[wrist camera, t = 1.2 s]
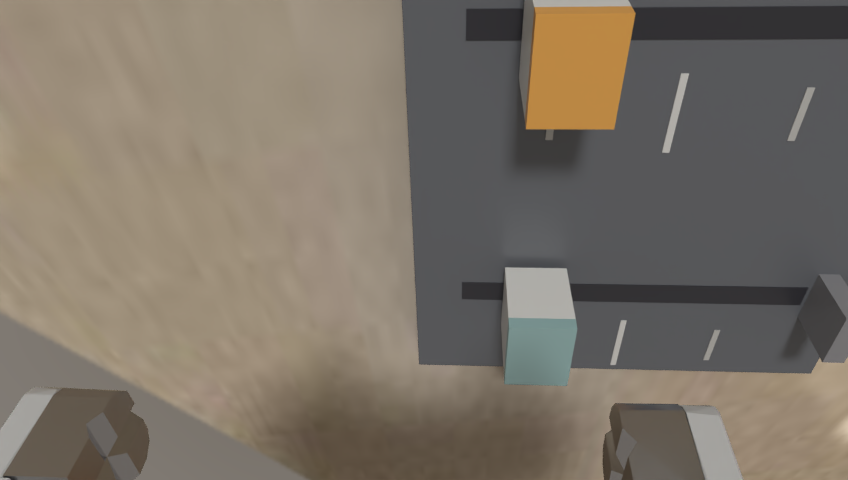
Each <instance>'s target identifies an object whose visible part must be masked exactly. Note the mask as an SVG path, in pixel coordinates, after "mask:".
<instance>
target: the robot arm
mask: <svg viewBox="0 0 848 480" xmlns="http://www.w3.org/2000/svg"><path fill="white" fill-rule="evenodd" d="M133 405H134V401H133V400H132V398H131V397H130V395H129V393H128V392H127V391H118V390H97V389H74V388H55V387H54V388H53V387H34V388H33V389H31V390H30V391H28V392H27V393H26V394H24V395H23V397H22V398H21V400H20V402H19V403H18V404H17V406H16V407H15V408H14V410H13V411H12V413H11V414H10V416H9V417H8V419H7V421H6V422H5V423H4V425H3V426H2V428H1V429H0V480H134V479H135V478H136V477H137V476H139V475H140V473H141V471H142V468H143V466H144V463H145V461H146V459H147V453H148V446H149V434H148V428H147V426H146V424H145V422H144V420H143V419H142V418H140V417H139V416H137V415H136V414H134V413H133V412H131V409H132V407H133ZM609 419H610V424H611V430H610V431H609V432H608V433H606V434H605V439H604V444H603V474H604V480H743V477H742V474H741V471H740V468H739V466H738V463H737V460H736V457H735V454H734V451H733V449H732V446H731V443H730V440H729V437H728V434H727V432H726V429H725V426H724V423H723V420H722V418H721V415H720V412H719V411H718V410H717V409H716V408H715V407H714V406H696V405H678V404H624V403H615V404H614V405H613V406H612V408H611V412H610V416H609Z"/></svg>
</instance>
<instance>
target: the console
mask: <svg viewBox="0 0 848 480" xmlns="http://www.w3.org/2000/svg"><path fill="white" fill-rule="evenodd" d="M628 1H629V2H630V4H631V6H632V8H633V10H634V11H635V13H636V14H635V19H634V25H633V30H632V36H631V41H630V46H629V52H628V57H627V63H626V68H625V74H624V79H623V84H622V90H621V95H620V101H619V106H618V112H617V117H616V123H615V128H614V130H612V129H526V125H525V118H524V111H523V104H522V97H521V90H520V83H519V69H520V55H521V41H522V28H523V14H524V0H402V9H403V30H404V51H405V72H406V94H407V115H408V136H409V157H410V178H411V200H412V221H413V242H414V263H415V284H416V306H417V327H418V348H419V364H427V365H470V366H503V351H502V333H501V316H502V302H503V289H504V275H505V267H511V268H567V273H568V279H569V284H570V290H571V296H572V301H573V307H574V312H575V318H576V323H577V334H576V340H575V345H574V351H573V356H572V361H571V367H570V368H598V369H641V370H683V371H726V372H769V373H811V372H812V370H813V368H814V366H815V365H816V363H817V361H818V359H819V357H820V359H821V360H822V362H836V363H844V362H845V360H846V358H847V357H848V0H628Z"/></svg>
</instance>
